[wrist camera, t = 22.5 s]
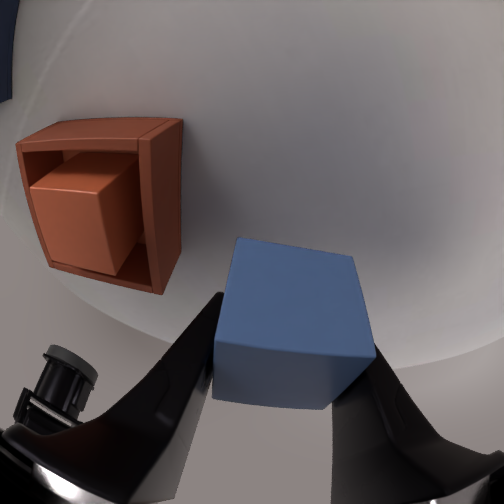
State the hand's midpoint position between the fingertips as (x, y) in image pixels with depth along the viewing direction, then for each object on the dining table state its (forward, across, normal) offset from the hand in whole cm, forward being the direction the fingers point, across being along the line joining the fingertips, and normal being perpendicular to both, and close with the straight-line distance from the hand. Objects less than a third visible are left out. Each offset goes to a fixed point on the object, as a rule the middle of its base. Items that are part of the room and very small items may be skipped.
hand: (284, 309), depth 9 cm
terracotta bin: (+5, +9, -1) cm, 11 cm away
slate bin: (+5, +21, -15) cm, 26 cm away
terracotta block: (+5, +9, -1) cm, 10 cm away
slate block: (+1, 0, 0) cm, 1 cm away
